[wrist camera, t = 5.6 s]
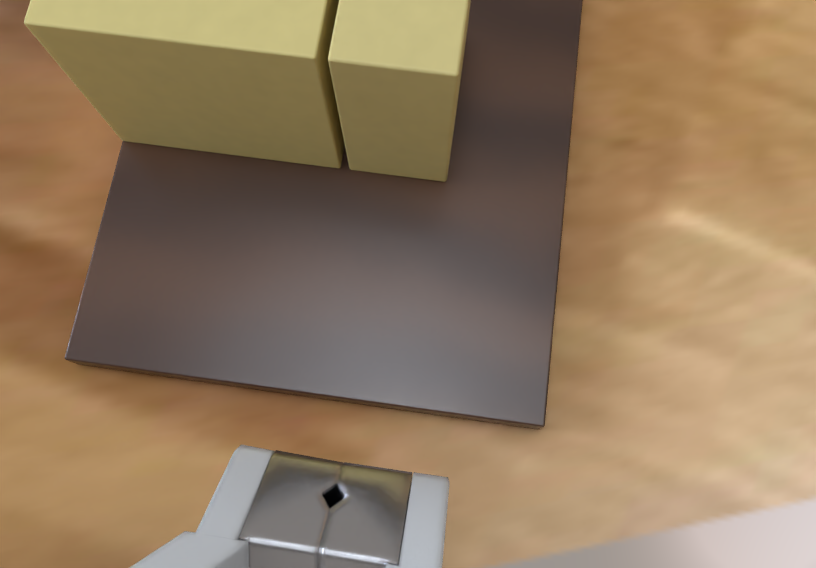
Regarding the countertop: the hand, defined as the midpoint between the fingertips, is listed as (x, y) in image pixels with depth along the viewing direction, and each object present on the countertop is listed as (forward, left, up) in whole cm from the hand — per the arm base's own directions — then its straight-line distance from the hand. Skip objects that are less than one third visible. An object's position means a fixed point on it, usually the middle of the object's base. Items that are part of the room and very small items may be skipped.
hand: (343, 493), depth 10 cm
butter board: (+14, +3, -14) cm, 20 cm away
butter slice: (+14, +1, -13) cm, 19 cm away
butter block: (+14, +7, -13) cm, 20 cm away
